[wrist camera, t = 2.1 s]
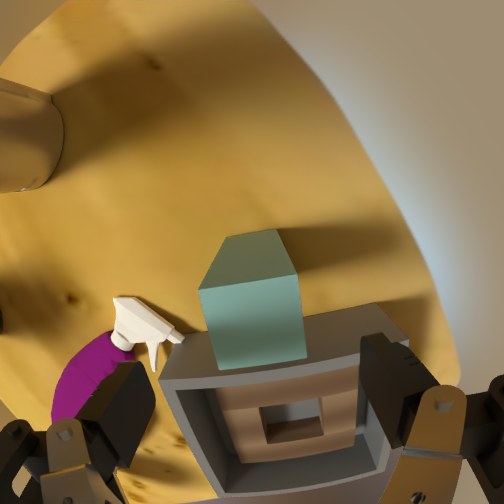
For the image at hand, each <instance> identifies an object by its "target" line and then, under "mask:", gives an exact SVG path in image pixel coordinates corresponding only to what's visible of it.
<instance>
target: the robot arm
mask: <svg viewBox="0 0 504 504" xmlns="http://www.w3.org/2000/svg"><path fill="white" fill-rule="evenodd" d="M63 138H64V128H63V121H62V117H61V115H60V113H59V111H58V109H57V108H56V107H55V106H54V105H53V104H52V101H51V95H50V94H48V93H45V92H42V91H39V90H36V89H33V88H30V87H28V86H25V85H21V84H18V83H15V82H12V81H9V80H6V79H3V78H0V193H8V192H20V191H27V190H32V189H36V188H38V187H39V186H41V185H42V184H43V183H45V182H46V181H47V180H48V178H49V177H50V176H51V174H52V173H53V171H54V169H55V167H56V165H57V163H58V160H59V158H60V155H61V151H62V146H63ZM359 373H360V381H361V385H362V387H363V390H364V392H365V394H366V396H367V398H368V400H369V402H370V404H371V406H372V408H373V410H374V412H375V414H376V416H377V418H378V420H379V423H380V425H381V427H382V429H383V431H384V433H385V435H386V437H387V440H388V442H389V444H390V446H391V448H392V449H395V448H398V447H401V446H404V449H403V451H402V453H401V455H400V458H399V460H398V463H397V465H396V467H395V470H394V472H393V474H392V476H391V478H390V481H389V483H388V485H387V487H386V489H385V491H384V493H383V495H382V497H381V499H380V501H379V502H378V504H451V503H452V500H453V497H454V493H455V490H456V486H457V482H458V479H459V474H460V470H461V466H462V460H463V459H467V461H468V463H469V465H470V466H471V468H472V470H473V472H474V474H475V476H476V478H477V480H478V481H479V484H480V486H481V488H482V489H483V492H484V494H485V495H486V498H487V500H488V502H489V504H504V375H500V376H497V377H496V378H494V379H493V380H492V382H491V383H490V386H489V389H488V391H487V392H482V393H476V394H471V395H465V394H464V392H463V391H462V390H460V389H459V388H457V387H455V386H451V385H440V384H439V382H438V381H437V380H436V379H435V378H434V376H433V375H432V374H431V373H430V372H429V371H428V369H427V368H426V367H425V366H424V365H423V364H422V363H421V361H420V360H419V359H418V358H417V357H415V354H414V353H413V352H412V351H411V350H410V349H409V348H408V347H407V346H405V345H403V344H401V343H399V342H393V343H391V342H390V341H389V339H388V338H387V337H386V336H385V335H384V333H383V332H378V333H374V334H369V335H365V336H362V337H361V340H360V370H359ZM155 404H156V398H155V393H154V391H153V388H152V386H151V383H150V381H149V378H148V376H147V373H146V370H145V368H144V365H143V364H142V362H140V361H122V362H120V364H119V365H118V366H117V368H116V369H115V370H114V372H113V373H111V374H110V375H108V376H107V377H106V378H104V379H103V380H102V381H101V382H100V383H99V385H98V386H97V387H96V390H94V391H93V393H92V394H91V397H89V398H88V399H87V401H86V402H85V403H84V405H83V406H82V408H81V409H80V410H79V412H78V413H77V414H76V416H75V417H74V418H63V419H60V420H58V421H56V422H54V423H53V424H52V425H51V426H50V427H49V428H48V430H47V431H34V430H33V429H32V427H31V426H30V424H29V423H28V422H27V421H26V420H23V419H18V420H14V421H12V422H10V423H8V424H7V425H6V426H5V427H4V428H3V429H2V431H1V432H0V504H129V502H128V500H127V498H126V495H125V493H124V491H123V489H122V486H121V484H120V482H119V479H118V477H117V475H116V474H115V472H114V470H115V467H116V466H117V467H123V468H129V467H130V464H131V462H132V460H133V457H134V455H135V452H136V450H137V448H138V445H139V443H140V441H141V438H142V436H143V434H144V431H145V429H146V427H147V425H148V422H149V420H150V418H151V415H152V413H153V411H154V409H155ZM22 465H23V466H24V467H25V468H26V469H27V471H28V472H29V473H30V474H31V475H32V476H31V478H30V480H29V482H28V483H27V485H26V487H25V488H24V490H23V492H22V494H21V496H20V498H19V497H18V496H17V495H16V494H15V493H14V491H13V489H12V481H13V479H14V478H15V476H16V475H17V473H18V471H19V470H20V468H21V466H22Z"/></svg>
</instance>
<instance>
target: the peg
mask: <svg viewBox="0 0 504 504" xmlns="http://www.w3.org/2000/svg"><path fill="white" fill-rule="evenodd" d="M198 292H199V297H200V301H201V305H202V309H203V313H204V316H205V320H206V324H207V328H208V332H209V336H210V339H211V343H212V347H213V350H214V354H215V357H216V361H217V364H218V368H219V370H226V369H236V368H244V367H252V366H260V365H267V364H273V363H280V362H286V361H292V360H298V359H304V358H307V351H306V342H305V333H304V324H303V315H302V307H301V299H300V291H299V283H298V275H297V272H296V270H295V268H294V266H293V264H292V262H291V259H290V257H289V255H288V253H287V251H286V249H285V247H284V245H283V243H282V240H281V238H280V236H279V234H278V232H277V230H276V229H272V230H266V231H260V232H254V233H248V234H242V235H236V236H230V237H226V238H225V240H224V242H223V244H222V246H221V248H220V250H219V251H218V253H217V255H216V257H215V259H214V261H213V262H212V264H211V266H210V268H209V270H208V272H207V274H206V276H205V277H204V279H203V281H202V283H201V285H200V287H199V289H198Z"/></svg>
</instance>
